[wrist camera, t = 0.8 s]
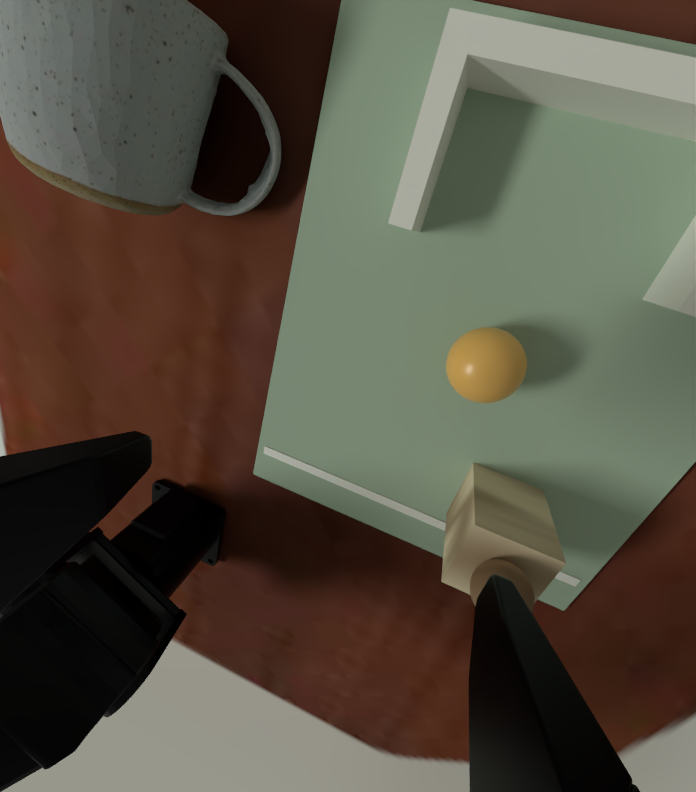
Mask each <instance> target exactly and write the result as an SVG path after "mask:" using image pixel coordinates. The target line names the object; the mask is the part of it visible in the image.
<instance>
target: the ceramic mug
mask: <svg viewBox="0 0 696 792" xmlns="http://www.w3.org/2000/svg"><path fill="white" fill-rule="evenodd" d="M227 46H228V36H227V35H226V33H225V32H224V31H223V30H222V29H221V28H220V27H219V26H218V25H217V24H216V23H215V22H214V21H213V20H212V19H210V18H209V17H208V16H207V15H205V14H204V13H203V12H202V11H201V10H199V9H198V8H196V7H195V6H194V5H192V4H191V3H190V2H188V1H187V0H0V116H1V120H2V124H3V128H4V131H5V135H6V139H7V142H8V144H9V147H10V149H11V151H12V152H13V154H14V155H15V157H16V158H17V159H18V160H19V161H20V162H21V163H22V164H23V165H24V166H25V167H27V168H28V169H29V170H30V171H32V172H33V173H34V174H36V175H37V176H38V177H40V178H42V179H43V180H45V181H47V182H49V183H51V184H52V185H54V186H56V187H59V188H61V189H63V190H65V191H67V192H70V193H72V194H74V195H76V196H79V197H81V198H84V199H87V200H90V201H93V202H96V203H99V204H102V205H104V206H107V207H111V208H114V209H118V210H121V211H126V212H131V213H136V214H145V215H163V214H169V213H170V212H172V211H174V210H176V209H178V208H179V207H180V206H181V205H182V203H186V204H188V205H189V206H191V207H194V208H196V209H198V210H200V211H203V212H207V213H210V214H213V215H225V216H232V215H238V214H242V213H245V212H248V211H249V210H251V209H253V208H254V207H256V206H257V205H258V204H259V203H261V201H262V200H263V199H264V198H265V197H266V196H267V195H268V193H269V192H270V191H271V189H272V187H273V185H274V183H275V180H276V178H277V175H278V172H279V168H280V163H281V139H280V133H279V130H278V127H277V124H276V122H275V119H274V117H273V115H272V112H271V111H270V109H269V107H268V105H267V103H266V102H265V100H264V99H263V97H262V96H261V95H260V93H259V92H258V91H257V90H256V89H255V87H254V86H253V85H252V84H251V83H250V82H249V81H248V80H247V79H246V78H245V77H244V76H243V75H242V74H241V73H240V72H239V71H238V70H237V69H236V68H235V67H233V66H232V65H231V64H230V63H229V62H228V60H227V59H226V51H227ZM222 74H225V75H228V76H229V77H230V78H231V79H232V80H233V81H234V82H235V83H236V84H237V85H238V86H239V87H240V88H241V90H242V91H243V92H244V93H245V95H246V96H247V97H248V98H249V100H250V101H251V102H252V103H253V105H254V106H255V108H256V110H257V112H258V113H259V115H260V118H261V121H262V124H263V126H264V128H265V130H266V131H265V134H266V136H267V138H268V141H269V144H270V152H269V155H268V158H267V161H266V163H265V165H264V167H263V170H262V172H261V174H260V176H259V178H258V179H257V181H256V182H255V183H254V184H252V185H250V186H249V188H248V193H247V195H246V196H245V197H244V198H243V199H242V200H240V202H237V203H232V204H227V203H223V202H216V201H213V200H210V199H207V198H204V197H202V196H200V195H198V194H195V193H194V192H193V191H192V189H191V185H192V182H193V178H194V173H195V169H196V167H197V162H198V155H199V150H200V146H201V142H202V138H203V135H204V132H205V128H206V125H207V121H208V118H209V115H210V112H211V109H212V105H213V101H214V97H215V95H216V93H217V86H218V83H219V79H220V76H221V75H222Z"/></svg>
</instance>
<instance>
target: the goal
mask: <svg viewBox="0 0 696 792" xmlns="http://www.w3.org/2000/svg"><path fill="white" fill-rule="evenodd" d="M467 88H470V89H474V90H478V91H483V92H487V93H491V94H495V95H500V96H504V97H508V98H512V99H517V100H521V101H525V102H529V103H534V104H538V105H542V106H546V107H551V108H555V109H559V110H563V111H568V112H572V113H576V114H580V115H584V116H589V117H593V118H597V119H601V120H606V121H610V122H614V123H618V124H623V125H627V126H631V127H635V128H640V129H644V130H648V131H652V132H657V133H661V134H665V135H669V136H674V137H678V138H682V139H686V140H691V141H695V142H696V58H695V57H690V56H685V55H680V54H675V53H671V52H666V51H661V50H656V49H651V48H646V47H641V46H636V45H631V44H626V43H621V42H616V41H611V40H607V39H602V38H597V37H592V36H587V35H582V34H577V33H572V32H567V31H562V30H557V29H552V28H548V27H543V26H538V25H533V24H528V23H523V22H518V21H513V20H508V19H503V18H498V17H493V16H488V15H484V14H479V13H474V12H469V11H464V10H459V9H454V8H450V9H449V12H448V16H447V19H446V23H445V26H444V30H443V33H442V37H441V40H440V44H439V47H438V51H437V54H436V58H435V61H434V65H433V68H432V72H431V75H430V79H429V82H428V86H427V89H426V92H425V96H424V99H423V103H422V106H421V110H420V113H419V117H418V120H417V124H416V127H415V131H414V134H413V138H412V141H411V145H410V148H409V152H408V155H407V159H406V162H405V166H404V169H403V173H402V176H401V179H400V183H399V186H398V190H397V193H396V197H395V200H394V204H393V207H392V211H391V214H390V218H389V221H388V224H392V225H395V226H398V227H402V228H405V229H408V230H411V231H416V232H420V231H421V228H422V225H423V222H424V219H425V216H426V213H427V210H428V207H429V203H430V200H431V197H432V194H433V191H434V188H435V185H436V182H437V179H438V176H439V173H440V170H441V167H442V164H443V161H444V158H445V155H446V152H447V149H448V145H449V142H450V139H451V136H452V133H453V130H454V127H455V124H456V121H457V118H458V115H459V112H460V109H461V106H462V103H463V100H464V97H465V94H466V91H467ZM642 300H645V301H648V302H651V303H654V304H657V305H660V306H663V307H666V308H669V309H672V310H675V311H678V312H682V313H685V314H688V315H691V316H695V317H696V215H695V217H694V218H693V220H692V222H691V223H690V225H689V226H688V228H687V230H686V231H685V233H684V234H683V236H682V237H681V239H680V241H679V242H678V244H677V245H676V247H675V248H674V250H673V252H672V253H671V255H670V256H669V258H668V259H667V261H666V263H665V264H664V266H663V267H662V269H661V271H660V272H659V274H658V275H657V277H656V278H655V280H654V282H653V283H652V285H651V286H650V288H649V289H648V291H647V293H646V294H645V296H644V297H643V299H642Z"/></svg>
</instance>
